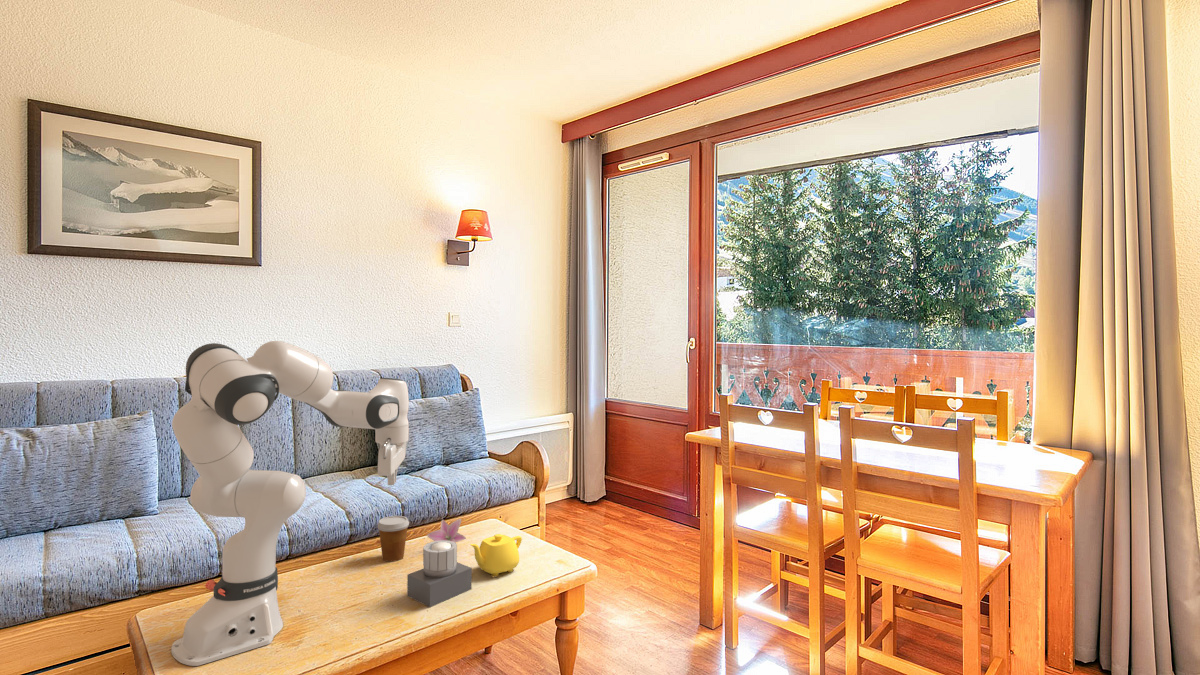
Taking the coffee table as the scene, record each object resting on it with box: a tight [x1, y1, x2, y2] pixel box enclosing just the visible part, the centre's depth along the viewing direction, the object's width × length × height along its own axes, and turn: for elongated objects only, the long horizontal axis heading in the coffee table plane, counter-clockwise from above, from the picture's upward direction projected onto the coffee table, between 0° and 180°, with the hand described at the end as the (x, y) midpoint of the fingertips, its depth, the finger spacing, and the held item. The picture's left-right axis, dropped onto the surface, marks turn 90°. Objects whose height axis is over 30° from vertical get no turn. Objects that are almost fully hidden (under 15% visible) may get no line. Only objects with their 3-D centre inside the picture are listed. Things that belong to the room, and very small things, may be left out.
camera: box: [406, 540, 473, 608], centre depth 169 cm, size 14×10×13 cm
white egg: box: [432, 542, 451, 551], centre depth 169 cm, size 5×5×5 cm
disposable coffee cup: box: [376, 515, 410, 563], centre depth 192 cm, size 10×10×12 cm
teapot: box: [469, 533, 523, 577], centre depth 184 cm, size 18×11×11 cm, turn 131°
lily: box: [426, 518, 467, 543], centre depth 200 cm, size 12×12×10 cm
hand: (391, 483), depth 172 cm, fingers closed
